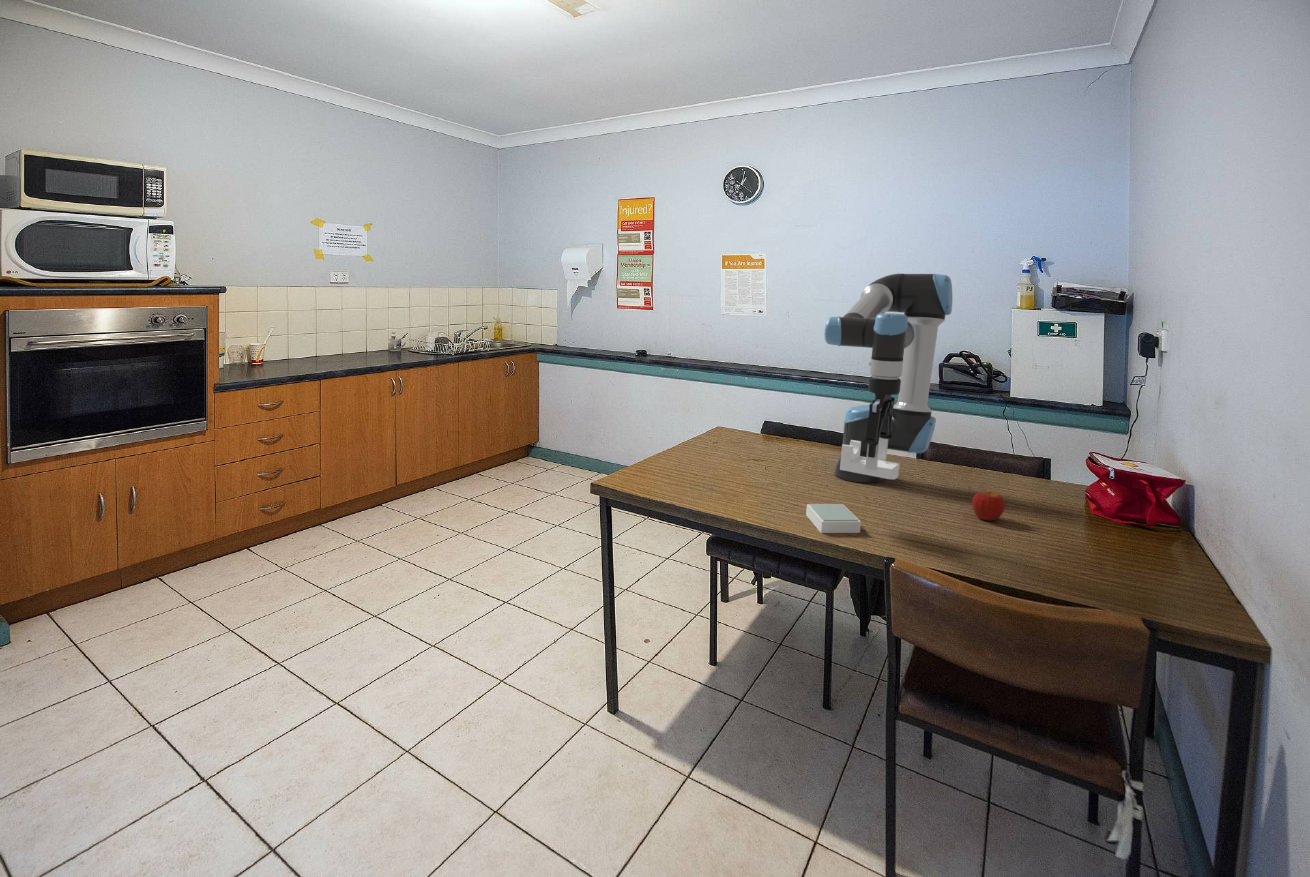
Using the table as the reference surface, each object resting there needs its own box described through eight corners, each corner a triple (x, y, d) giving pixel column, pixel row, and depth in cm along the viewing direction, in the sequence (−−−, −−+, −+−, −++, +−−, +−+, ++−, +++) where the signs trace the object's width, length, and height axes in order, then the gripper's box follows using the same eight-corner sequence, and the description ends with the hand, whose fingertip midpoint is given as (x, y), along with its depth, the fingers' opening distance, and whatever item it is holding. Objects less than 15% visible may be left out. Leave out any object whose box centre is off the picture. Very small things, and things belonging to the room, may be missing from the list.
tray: (842, 514, 179) (843, 503, 178) (859, 532, 166) (861, 520, 165) (806, 514, 178) (807, 503, 177) (821, 532, 165) (822, 520, 164)
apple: (997, 526, 173) (1002, 498, 171) (966, 518, 178) (970, 491, 176) (1005, 518, 179) (1010, 491, 177) (975, 511, 184) (979, 485, 182)
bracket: (839, 473, 171) (842, 445, 169) (848, 467, 176) (851, 439, 174) (890, 482, 163) (893, 453, 162) (898, 476, 169) (901, 448, 167)
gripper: (881, 371, 173) (872, 455, 178) (857, 379, 157) (848, 471, 162) (911, 374, 169) (901, 460, 174) (889, 383, 153) (878, 477, 158)
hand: (875, 465), depth 168 cm, fingers closed on bracket, 7 cm apart
